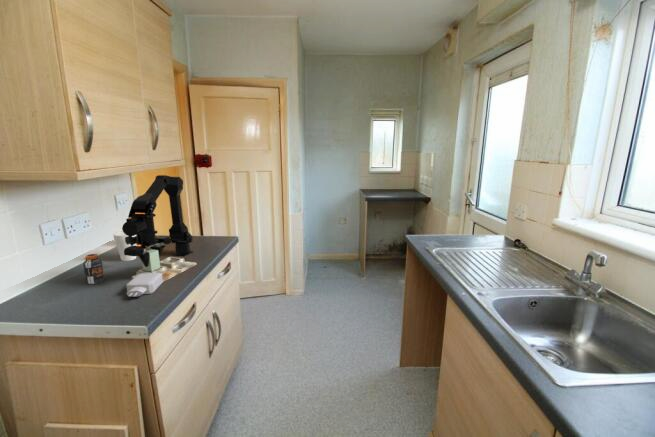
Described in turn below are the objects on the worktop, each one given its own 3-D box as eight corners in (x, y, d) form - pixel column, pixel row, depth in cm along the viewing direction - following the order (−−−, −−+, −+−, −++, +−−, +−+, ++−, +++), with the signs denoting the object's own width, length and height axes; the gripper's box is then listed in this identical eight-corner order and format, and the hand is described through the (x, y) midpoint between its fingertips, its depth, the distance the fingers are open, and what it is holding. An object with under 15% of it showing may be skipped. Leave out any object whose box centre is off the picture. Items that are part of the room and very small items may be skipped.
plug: (152, 266, 133) (149, 249, 131) (160, 267, 131) (158, 250, 130) (143, 270, 128) (140, 252, 127) (151, 271, 127) (149, 253, 125)
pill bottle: (95, 285, 121) (90, 258, 118) (82, 283, 122) (77, 257, 119) (108, 278, 126) (104, 253, 124) (96, 277, 128) (91, 252, 125)
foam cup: (132, 254, 155) (129, 229, 152) (144, 257, 152) (141, 231, 149) (113, 260, 147) (109, 234, 144) (124, 263, 143) (120, 236, 140)
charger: (118, 303, 108) (138, 284, 122) (146, 301, 109) (163, 283, 123) (116, 290, 107) (137, 273, 121) (144, 289, 108) (161, 272, 122)
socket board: (170, 260, 147) (169, 255, 146) (196, 264, 143) (196, 258, 142) (131, 278, 127) (131, 272, 126) (161, 283, 123) (160, 276, 122)
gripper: (149, 222, 137) (154, 255, 140) (110, 233, 119) (116, 270, 123) (170, 224, 134) (173, 258, 137) (132, 236, 116) (138, 274, 120)
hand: (151, 264), depth 129 cm, fingers closed on plug, 4 cm apart
